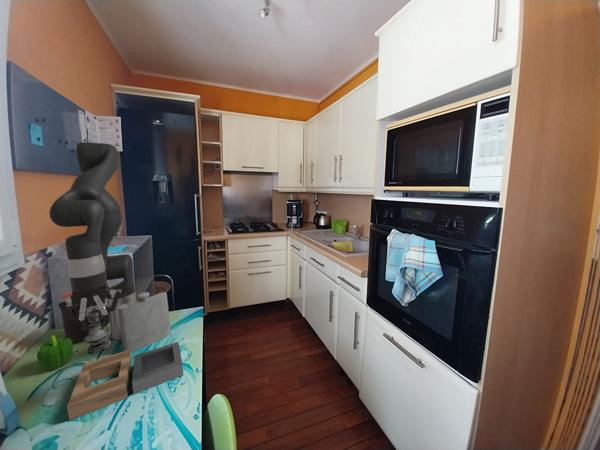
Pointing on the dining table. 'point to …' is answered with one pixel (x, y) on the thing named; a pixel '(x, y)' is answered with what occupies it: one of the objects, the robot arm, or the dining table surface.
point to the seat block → (156, 367)
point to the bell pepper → (55, 353)
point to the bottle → (72, 323)
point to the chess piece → (97, 332)
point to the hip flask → (144, 321)
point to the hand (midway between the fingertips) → (96, 327)
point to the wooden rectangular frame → (100, 384)
